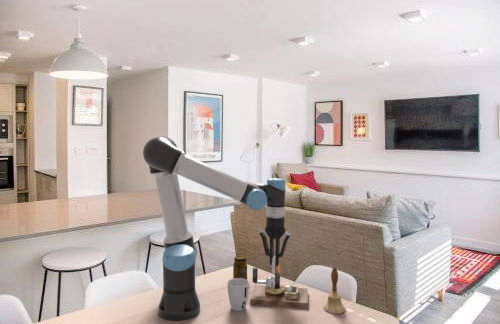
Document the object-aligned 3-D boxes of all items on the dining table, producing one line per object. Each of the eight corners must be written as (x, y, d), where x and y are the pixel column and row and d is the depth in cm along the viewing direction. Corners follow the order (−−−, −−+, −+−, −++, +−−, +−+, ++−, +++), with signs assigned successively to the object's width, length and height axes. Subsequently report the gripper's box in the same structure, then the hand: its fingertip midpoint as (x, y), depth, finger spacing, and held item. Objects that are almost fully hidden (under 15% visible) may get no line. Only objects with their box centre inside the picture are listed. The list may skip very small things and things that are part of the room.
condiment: (246, 280, 175) (246, 254, 174) (250, 288, 167) (250, 260, 166) (230, 282, 173) (230, 255, 172) (233, 289, 165) (233, 261, 164)
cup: (246, 313, 143) (246, 287, 142) (224, 311, 145) (225, 285, 144) (250, 304, 151) (250, 279, 150) (230, 302, 153) (230, 277, 152)
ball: (284, 295, 154) (284, 287, 154) (284, 291, 158) (284, 284, 157) (292, 295, 154) (292, 287, 154) (292, 292, 157) (292, 284, 157)
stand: (250, 304, 151) (250, 293, 151) (254, 289, 165) (254, 279, 165) (307, 308, 148) (307, 296, 148) (307, 293, 162) (307, 282, 161)
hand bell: (321, 311, 145) (322, 269, 144) (325, 302, 153) (326, 262, 152) (343, 315, 142) (345, 273, 141) (347, 306, 150) (348, 265, 149)
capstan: (258, 301, 149) (258, 276, 148) (250, 289, 160) (251, 266, 159) (290, 297, 152) (290, 273, 151) (280, 286, 163) (280, 263, 162)
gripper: (257, 216, 158) (256, 273, 160) (289, 219, 154) (287, 277, 156) (262, 213, 165) (261, 267, 167) (292, 215, 162) (291, 271, 163)
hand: (274, 272), depth 162 cm, fingers closed
